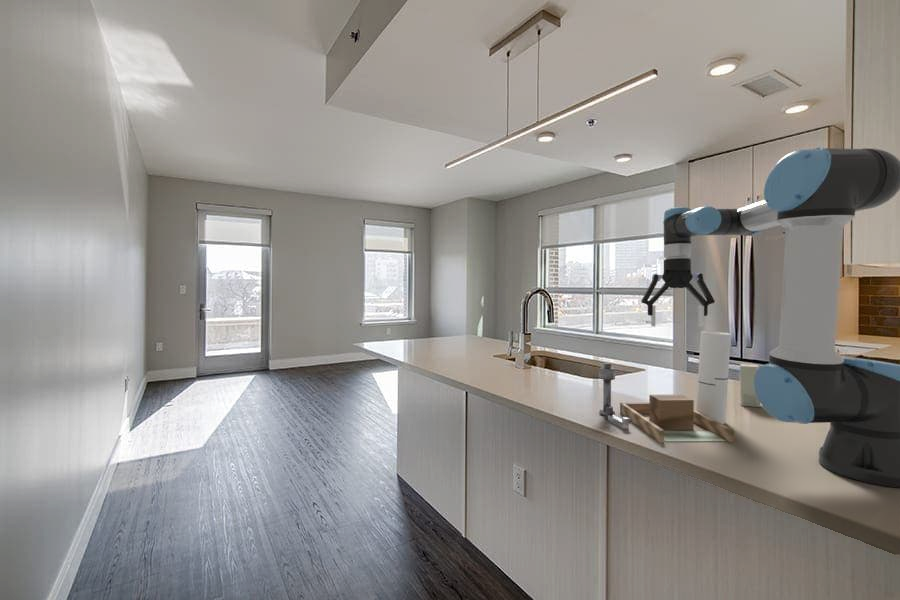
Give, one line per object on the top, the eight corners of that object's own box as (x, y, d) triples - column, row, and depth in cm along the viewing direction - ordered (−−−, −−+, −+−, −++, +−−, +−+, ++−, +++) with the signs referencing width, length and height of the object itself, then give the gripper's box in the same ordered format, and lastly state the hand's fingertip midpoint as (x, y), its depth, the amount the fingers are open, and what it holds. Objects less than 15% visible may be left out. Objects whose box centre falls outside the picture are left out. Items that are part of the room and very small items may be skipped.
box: (759, 404, 136) (759, 364, 136) (760, 408, 132) (760, 367, 132) (739, 402, 139) (739, 363, 139) (739, 405, 135) (740, 365, 135)
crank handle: (631, 429, 114) (631, 416, 113) (624, 430, 113) (624, 416, 113) (610, 418, 124) (610, 406, 124) (604, 418, 123) (604, 406, 123)
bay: (733, 442, 104) (733, 430, 104) (659, 442, 104) (660, 430, 104) (679, 412, 129) (679, 402, 129) (620, 412, 129) (620, 402, 129)
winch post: (617, 416, 125) (617, 364, 125) (602, 416, 125) (602, 364, 125) (611, 411, 130) (611, 361, 129) (597, 412, 130) (597, 362, 129)
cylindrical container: (729, 425, 116) (735, 334, 115) (701, 423, 118) (706, 333, 117) (719, 417, 123) (724, 332, 122) (692, 415, 125) (697, 330, 124)
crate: (693, 429, 113) (693, 400, 113) (659, 429, 113) (659, 400, 113) (681, 422, 119) (681, 394, 119) (649, 422, 119) (649, 394, 119)
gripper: (718, 258, 133) (717, 325, 133) (632, 260, 139) (632, 324, 140) (727, 256, 125) (726, 327, 126) (636, 258, 132) (635, 326, 132)
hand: (676, 326), depth 133 cm, fingers open, 13 cm apart
